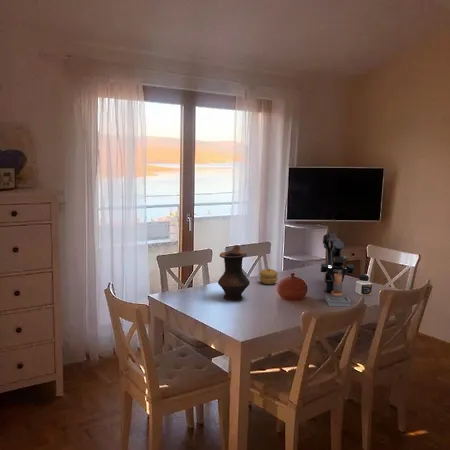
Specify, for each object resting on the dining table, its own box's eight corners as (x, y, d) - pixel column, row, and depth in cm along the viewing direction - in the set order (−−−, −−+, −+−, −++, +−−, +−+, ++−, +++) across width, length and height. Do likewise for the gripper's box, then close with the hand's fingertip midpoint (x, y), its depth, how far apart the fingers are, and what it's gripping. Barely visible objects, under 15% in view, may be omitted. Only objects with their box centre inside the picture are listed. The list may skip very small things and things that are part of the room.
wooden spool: (328, 293, 288) (330, 273, 286) (337, 292, 292) (338, 272, 290) (336, 296, 283) (338, 276, 281) (345, 295, 286) (346, 274, 284)
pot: (257, 284, 323) (257, 269, 321) (261, 280, 334) (262, 265, 333) (275, 286, 320) (275, 271, 318) (278, 282, 331) (279, 267, 329)
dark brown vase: (246, 304, 281) (248, 252, 277) (214, 301, 285) (215, 250, 280) (252, 294, 302) (253, 245, 297) (222, 291, 305) (223, 243, 301)
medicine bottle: (361, 295, 305) (362, 276, 303) (355, 292, 312) (356, 273, 310) (371, 294, 307) (372, 275, 305) (365, 291, 314) (366, 273, 312)
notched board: (325, 299, 295) (325, 294, 294) (346, 300, 294) (346, 295, 294) (329, 306, 283) (329, 300, 282) (350, 306, 283) (350, 301, 282)
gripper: (322, 249, 288) (323, 273, 279) (355, 251, 286) (357, 274, 277) (319, 260, 297) (320, 283, 288) (351, 261, 295) (353, 284, 286)
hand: (338, 281), depth 284 cm, fingers closed on wooden spool, 4 cm apart
